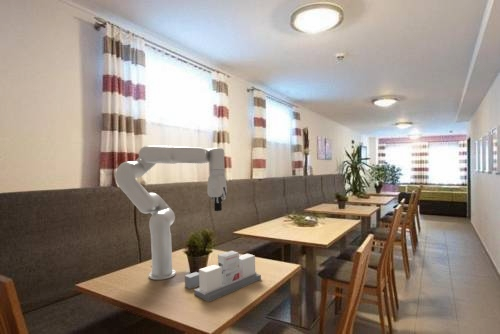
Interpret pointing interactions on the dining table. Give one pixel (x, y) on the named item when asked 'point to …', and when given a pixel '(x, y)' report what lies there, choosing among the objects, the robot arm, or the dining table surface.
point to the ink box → (229, 266)
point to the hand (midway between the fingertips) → (218, 210)
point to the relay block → (192, 280)
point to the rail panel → (228, 288)
